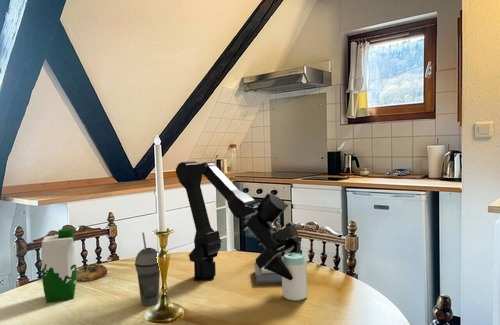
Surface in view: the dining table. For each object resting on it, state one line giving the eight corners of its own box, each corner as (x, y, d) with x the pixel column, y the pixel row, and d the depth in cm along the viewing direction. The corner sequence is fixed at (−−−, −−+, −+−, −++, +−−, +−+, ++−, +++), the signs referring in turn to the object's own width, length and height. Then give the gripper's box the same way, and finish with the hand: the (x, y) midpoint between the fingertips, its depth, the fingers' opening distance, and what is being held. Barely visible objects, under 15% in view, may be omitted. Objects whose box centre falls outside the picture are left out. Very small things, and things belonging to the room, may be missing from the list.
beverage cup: (156, 309, 100) (153, 235, 99) (131, 307, 101) (128, 235, 100) (167, 298, 107) (164, 229, 106) (144, 297, 108) (141, 229, 108)
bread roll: (112, 270, 134) (110, 257, 133) (101, 285, 123) (98, 271, 122) (81, 272, 134) (79, 259, 133) (67, 287, 123) (65, 273, 122)
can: (279, 300, 103) (278, 257, 103) (286, 291, 110) (285, 251, 109) (303, 303, 101) (302, 260, 100) (310, 293, 107) (309, 253, 107)
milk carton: (77, 299, 108) (73, 231, 108) (41, 305, 105) (38, 235, 104) (78, 289, 116) (75, 226, 116) (45, 294, 113) (42, 229, 112)
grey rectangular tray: (257, 284, 116) (256, 271, 116) (254, 271, 128) (254, 259, 127) (301, 282, 116) (301, 269, 116) (294, 269, 128) (294, 257, 128)
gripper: (263, 220, 99) (302, 267, 93) (295, 209, 114) (329, 249, 109) (240, 245, 103) (275, 292, 98) (273, 232, 119) (305, 271, 113)
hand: (298, 274), depth 104 cm, fingers open, 8 cm apart
